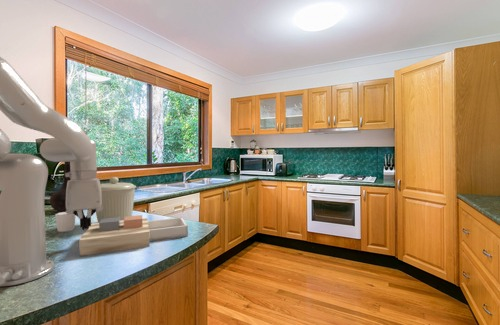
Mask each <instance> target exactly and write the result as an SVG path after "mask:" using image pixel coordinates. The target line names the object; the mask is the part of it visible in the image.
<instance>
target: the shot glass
mask: <svg viewBox="0 0 500 325" xmlns="http://www.w3.org/2000/svg"><path fill="white" fill-rule="evenodd" d="M55 221H56V222H55V223H56V229H57V232H59V233H63V232H70V231H72V230H75V224H76V215H75V214H68V213H66V212H58V213H55Z"/></svg>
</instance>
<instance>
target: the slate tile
mask: <svg viewBox="0 0 500 325" xmlns="http://www.w3.org/2000/svg"><path fill="white" fill-rule="evenodd" d="M119 229H120V217H116V218H106V219H101V221H100V223H99V232H102V231H111V230H119Z"/></svg>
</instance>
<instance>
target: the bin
mask: <svg viewBox="0 0 500 325" xmlns="http://www.w3.org/2000/svg"><path fill="white" fill-rule="evenodd" d="M148 226H149V242H156V241H163V240H170V239H177V238H178V239H179V238H184V237H188V236H189V231H188V226H189V225H188V224H187V222H186V221H185V220H184V218H183V217H172V218H162V219H154V220H148Z"/></svg>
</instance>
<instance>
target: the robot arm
mask: <svg viewBox="0 0 500 325" xmlns="http://www.w3.org/2000/svg"><path fill="white" fill-rule="evenodd" d="M0 112H2V114H4V116H6V118H8V119H9V120H10V122H12V123H14V124H16V125H18V126H21V127H24V128H26V129H30V130H34V131H37V132H39V133H40V132H41V133H44V134H45V135H46V134H47V135H49V136H51V137H52V138H48V139H46V140H44V141H43V142H41V144H40V146H39V153H40V155H41V157H42V158H43V159H45V160H46V161H49V162H55V163H65V162H70V172H68V173H65V177H69V178H70V179H71V180H69V181H68V182H67V188H66V209H67V210H66V213H68V214H75V217H77V218H78V219H79V227H80V228H82V229H81V230H82V231H86V230H88V229H89V226H91V224H92V216H93V215H94V214H96V212H98V211H101V210H103V205H102V191H101V185H100V184H101V181H100V178H98V170H97V169H98V168H97V166H98V165H97V164H98V163H97V144H96V141H94V140H93V139H90V138H89V137H88V135H87V134H86V132H85V131H84V130H83V129H82V127H80V126H79V124H77V123H76V122H75V121H74V120H72V119H70V118H69V117H67V116H65V115H64V114H62V113H60V112H59V111H57V110H55V109H53V108H51V107H49V106H48V105H46V104H45V103H44V101H42V99H41V98H40V97H39V96H38V95H37V94H36V93H35V92H34V91H33V89H32V88H31V87H30V86H29V85H28V84H27V81H25V80H24V79H23V78H22V77H21V75H20V74H19V73H18V72H17V71H16V69H15V68H14V67H13V66H12V65H11V64H10V63H9V62H8V61H7V60H6V59H5V58H3V57H1V56H0ZM11 151H12V142H11V139H10V137H9V136H8V135H7V134H6V133H5V132H4V131H3V130H2V129H1V128H0V191H1V192H0V287H10V286H16V285H21V284H24V283H27V282H32V281H34V280H38V279H40V278H42V277H44V276H46V275H47V274H49V273H51V271H53V270H54V269H55V264H54V262H53V261H52V260H47V242H46V241H47V238H46V236H47V235H46V214H45V213H46V212H45V193H46V187H47V182H48V177H49V168H48V166H47V163H46V162H45V161H44V160H43V159H42V158H41V157H39V156H37V155H33V154H29V153H10V152H11ZM85 210H87V213H86V215H85V212H84V211H85Z"/></svg>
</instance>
